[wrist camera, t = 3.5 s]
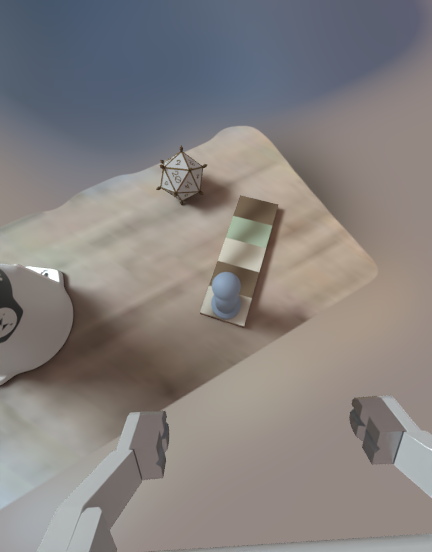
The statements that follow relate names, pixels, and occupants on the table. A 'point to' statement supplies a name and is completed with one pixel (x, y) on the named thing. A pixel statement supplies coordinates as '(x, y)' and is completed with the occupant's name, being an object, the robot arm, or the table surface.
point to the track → (243, 252)
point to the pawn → (226, 295)
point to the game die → (181, 176)
